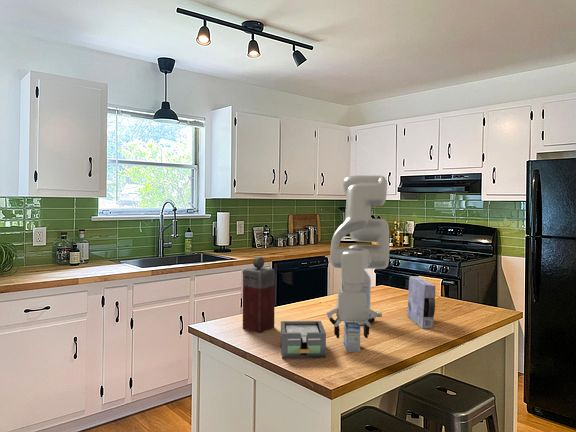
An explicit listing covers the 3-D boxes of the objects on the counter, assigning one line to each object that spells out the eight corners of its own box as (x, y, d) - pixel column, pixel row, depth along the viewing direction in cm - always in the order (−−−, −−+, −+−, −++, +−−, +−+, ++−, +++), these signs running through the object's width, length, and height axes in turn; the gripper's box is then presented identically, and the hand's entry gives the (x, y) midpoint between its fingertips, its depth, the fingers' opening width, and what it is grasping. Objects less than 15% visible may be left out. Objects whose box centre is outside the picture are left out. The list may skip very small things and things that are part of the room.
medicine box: (343, 344, 155) (343, 319, 154) (356, 344, 155) (356, 319, 154) (347, 352, 147) (347, 326, 146) (360, 352, 147) (360, 326, 146)
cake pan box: (435, 330, 172) (436, 284, 171) (423, 330, 171) (424, 285, 171) (417, 316, 191) (418, 275, 190) (406, 316, 191) (407, 275, 190)
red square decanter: (253, 322, 180) (253, 254, 179) (274, 327, 173) (275, 256, 172) (238, 327, 173) (238, 256, 172) (259, 333, 166) (260, 259, 165)
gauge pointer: (308, 351, 140) (308, 348, 140) (309, 353, 139) (309, 350, 139) (299, 352, 140) (299, 348, 140) (299, 353, 139) (299, 350, 139)
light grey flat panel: (316, 328, 153) (316, 325, 153) (321, 342, 139) (321, 338, 139) (285, 328, 153) (285, 325, 153) (287, 342, 139) (287, 338, 139)
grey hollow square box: (320, 343, 155) (320, 320, 155) (325, 358, 141) (326, 333, 141) (280, 343, 155) (280, 321, 154) (282, 358, 140) (282, 334, 140)
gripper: (374, 284, 154) (374, 333, 155) (325, 285, 153) (324, 333, 154) (380, 289, 146) (379, 340, 147) (328, 289, 146) (327, 340, 146)
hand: (351, 337), depth 150 cm, fingers open, 9 cm apart
